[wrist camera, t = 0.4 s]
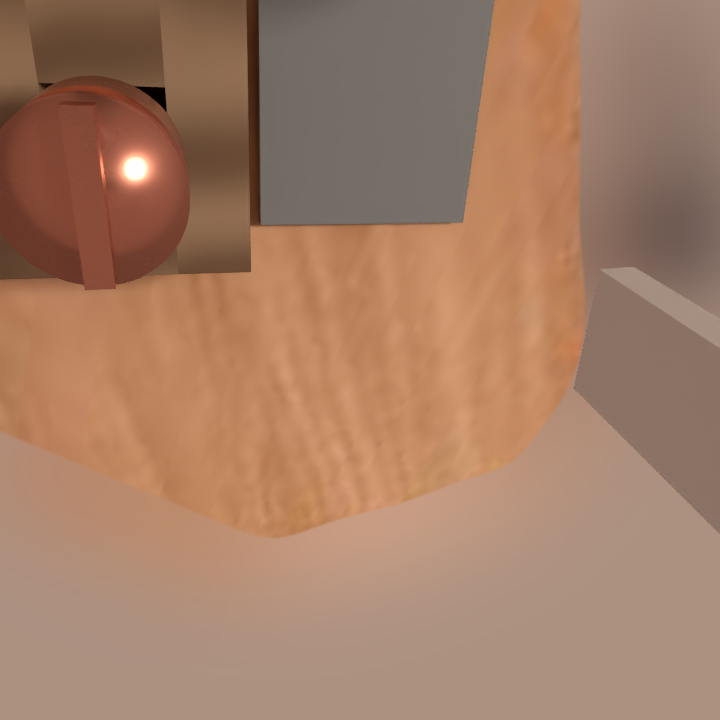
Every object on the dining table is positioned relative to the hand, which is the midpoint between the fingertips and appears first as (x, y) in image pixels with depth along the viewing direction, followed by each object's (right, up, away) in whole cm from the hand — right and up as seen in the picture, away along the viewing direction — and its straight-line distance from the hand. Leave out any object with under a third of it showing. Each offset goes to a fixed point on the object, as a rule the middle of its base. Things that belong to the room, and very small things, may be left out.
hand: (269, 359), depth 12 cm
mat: (+2, +13, +24) cm, 27 cm away
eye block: (-10, +12, +21) cm, 26 cm away
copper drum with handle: (-10, +12, +21) cm, 26 cm away
